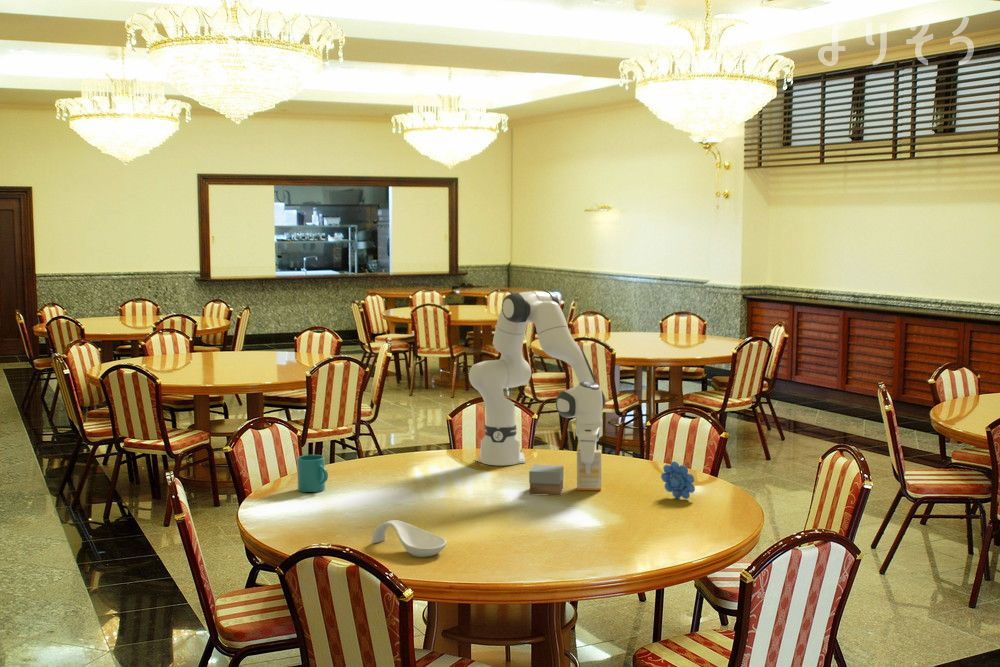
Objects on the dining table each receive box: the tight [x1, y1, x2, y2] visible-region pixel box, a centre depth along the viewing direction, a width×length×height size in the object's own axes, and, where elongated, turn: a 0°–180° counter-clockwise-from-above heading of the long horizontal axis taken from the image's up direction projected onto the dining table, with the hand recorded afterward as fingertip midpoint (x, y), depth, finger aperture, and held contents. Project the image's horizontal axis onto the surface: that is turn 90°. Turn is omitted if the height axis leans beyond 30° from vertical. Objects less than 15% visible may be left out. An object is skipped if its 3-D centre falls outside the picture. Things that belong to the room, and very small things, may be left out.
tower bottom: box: [529, 478, 564, 496], centre depth 335 cm, size 10×10×4 cm
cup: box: [296, 454, 329, 493], centre depth 336 cm, size 9×12×11 cm
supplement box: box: [576, 449, 602, 491], centre depth 338 cm, size 8×5×13 cm, turn 84°
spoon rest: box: [371, 519, 447, 558], centre depth 272 cm, size 24×12×7 cm, turn 53°
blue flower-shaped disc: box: [660, 461, 696, 499], centre depth 324 cm, size 12×7×12 cm, turn 58°
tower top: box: [528, 464, 564, 484], centre depth 335 cm, size 10×10×4 cm
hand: (589, 471), depth 338 cm, fingers closed on supplement box, 5 cm apart
